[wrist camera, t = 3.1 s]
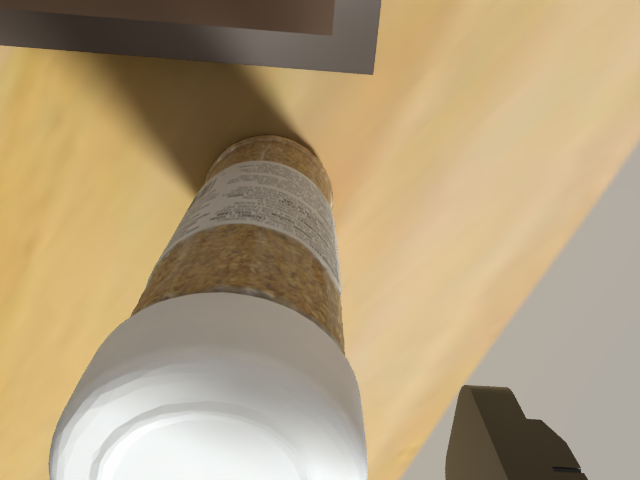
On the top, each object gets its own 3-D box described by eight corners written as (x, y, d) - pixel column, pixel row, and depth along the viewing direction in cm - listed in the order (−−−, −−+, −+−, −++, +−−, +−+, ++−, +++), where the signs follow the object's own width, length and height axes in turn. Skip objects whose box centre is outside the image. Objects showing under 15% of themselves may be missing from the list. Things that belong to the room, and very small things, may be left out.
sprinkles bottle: (272, 277, 22) (222, 653, 9) (177, 195, 20) (-31, 505, 8) (361, 193, 20) (440, 496, 8) (265, 101, 19) (183, 290, 7)
